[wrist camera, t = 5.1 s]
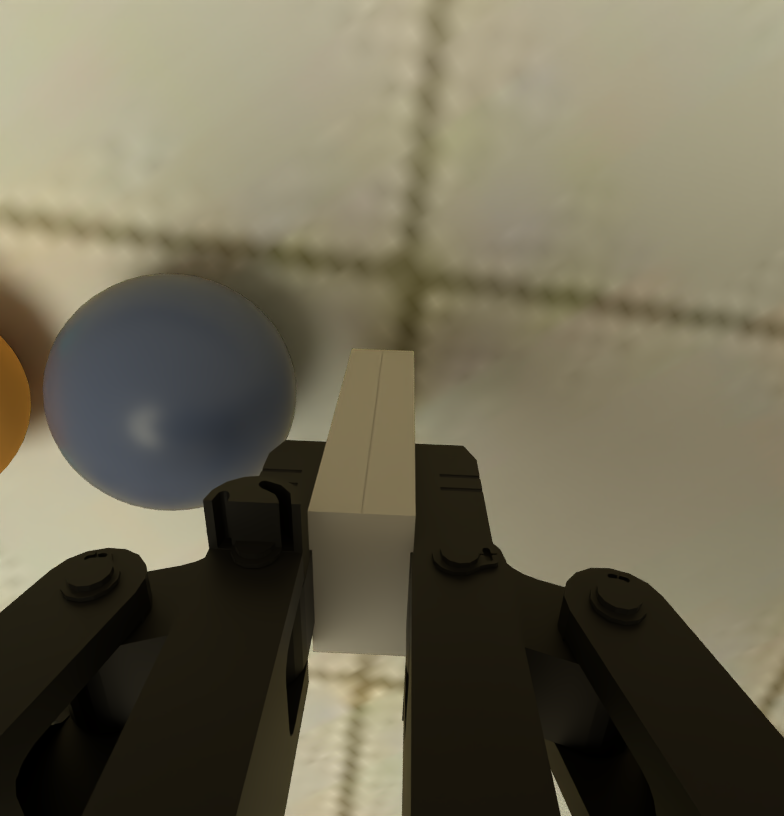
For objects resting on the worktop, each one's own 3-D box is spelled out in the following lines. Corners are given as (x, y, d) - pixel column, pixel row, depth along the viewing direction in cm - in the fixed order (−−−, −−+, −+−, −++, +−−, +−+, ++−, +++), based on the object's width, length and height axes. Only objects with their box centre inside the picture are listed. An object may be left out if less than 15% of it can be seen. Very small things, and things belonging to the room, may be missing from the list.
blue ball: (-28, 298, 9) (73, 246, 14) (21, 566, 12) (94, 442, 17) (309, 316, 11) (296, 263, 16) (296, 556, 13) (288, 443, 18)
